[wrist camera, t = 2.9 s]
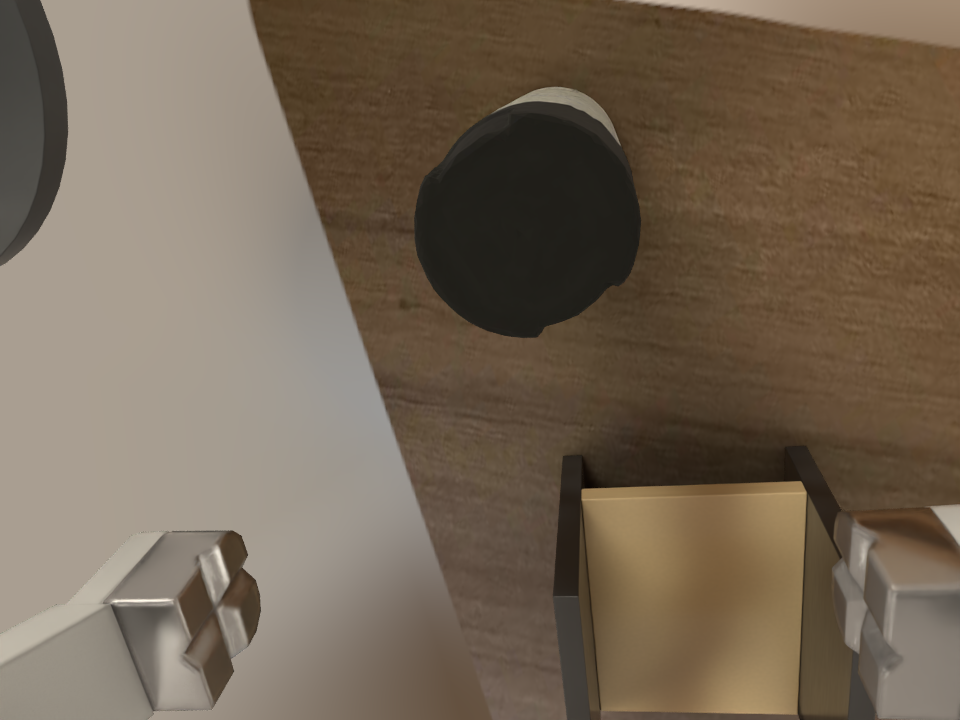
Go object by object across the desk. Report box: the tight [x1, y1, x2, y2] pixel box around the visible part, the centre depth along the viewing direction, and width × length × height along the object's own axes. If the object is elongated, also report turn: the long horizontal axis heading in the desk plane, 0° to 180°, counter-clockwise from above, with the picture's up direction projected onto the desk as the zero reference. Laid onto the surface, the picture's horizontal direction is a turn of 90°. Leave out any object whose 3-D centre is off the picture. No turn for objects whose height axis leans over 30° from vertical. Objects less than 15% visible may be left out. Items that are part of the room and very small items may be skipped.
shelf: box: [553, 446, 876, 720], centre depth 41 cm, size 14×16×15 cm
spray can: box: [414, 87, 641, 338], centre depth 30 cm, size 7×7×20 cm
